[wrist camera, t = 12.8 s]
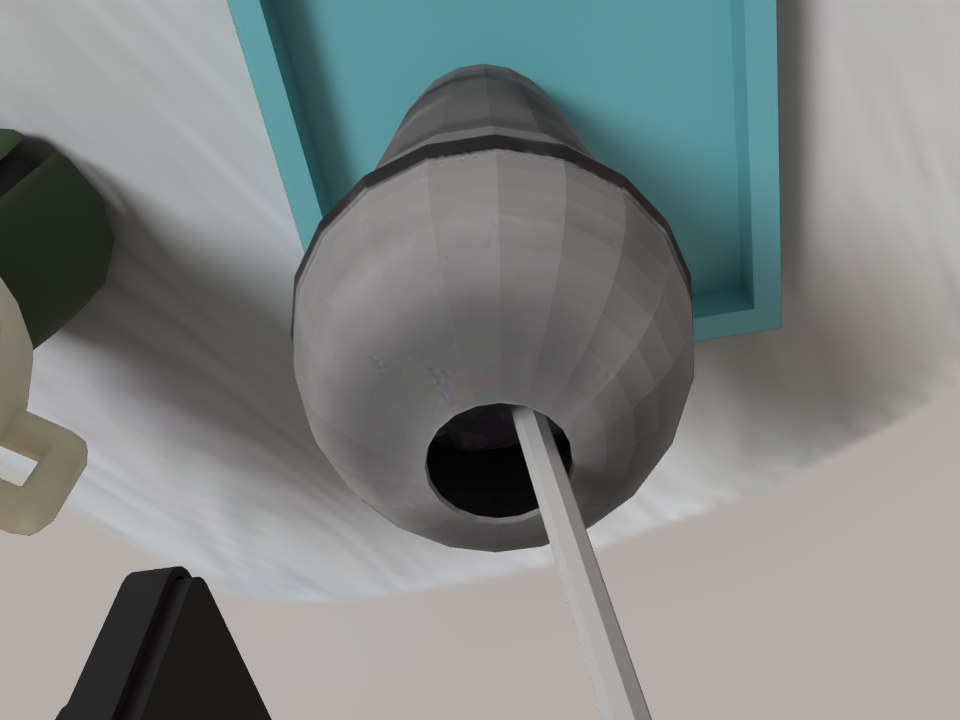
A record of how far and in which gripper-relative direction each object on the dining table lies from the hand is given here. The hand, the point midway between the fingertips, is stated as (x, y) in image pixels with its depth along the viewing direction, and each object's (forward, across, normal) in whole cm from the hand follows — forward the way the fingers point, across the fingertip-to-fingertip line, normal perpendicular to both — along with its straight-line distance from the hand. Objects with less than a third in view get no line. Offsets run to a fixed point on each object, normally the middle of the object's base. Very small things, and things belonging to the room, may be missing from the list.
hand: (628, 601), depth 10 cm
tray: (+19, +1, +1) cm, 19 cm away
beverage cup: (+19, +2, +1) cm, 19 cm away
